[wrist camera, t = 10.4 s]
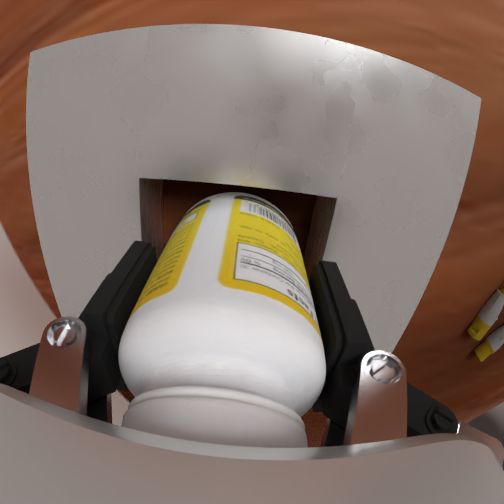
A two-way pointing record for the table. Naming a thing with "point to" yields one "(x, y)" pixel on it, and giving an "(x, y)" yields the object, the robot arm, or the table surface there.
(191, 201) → the table surface
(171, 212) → the table surface
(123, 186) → the hole plate
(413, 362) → the table surface
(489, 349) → the extension cord
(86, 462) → the robot arm
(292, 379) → the supplement bottle
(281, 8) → the table surface
